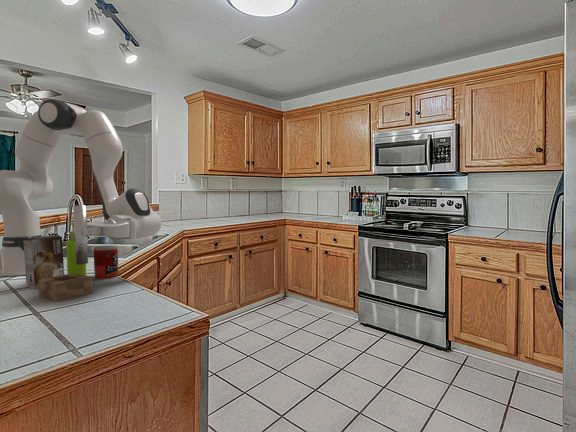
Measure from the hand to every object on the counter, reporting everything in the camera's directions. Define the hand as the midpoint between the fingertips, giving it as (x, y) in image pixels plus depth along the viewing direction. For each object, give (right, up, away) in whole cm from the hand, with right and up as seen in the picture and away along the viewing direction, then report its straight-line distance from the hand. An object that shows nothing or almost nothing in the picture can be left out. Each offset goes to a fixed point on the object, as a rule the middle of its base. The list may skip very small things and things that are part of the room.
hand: (77, 231), depth 106 cm
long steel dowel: (0, -10, +1) cm, 10 cm away
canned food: (-2, -18, +20) cm, 27 cm away
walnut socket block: (-2, -19, -3) cm, 19 cm away
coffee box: (-16, -18, +9) cm, 26 cm away
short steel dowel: (-10, -18, +7) cm, 22 cm away
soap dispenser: (-12, -18, +20) cm, 29 cm away
